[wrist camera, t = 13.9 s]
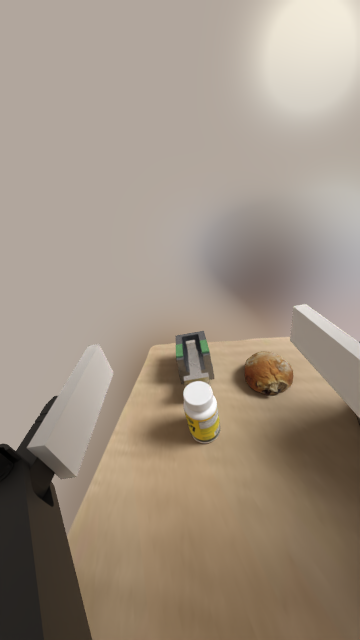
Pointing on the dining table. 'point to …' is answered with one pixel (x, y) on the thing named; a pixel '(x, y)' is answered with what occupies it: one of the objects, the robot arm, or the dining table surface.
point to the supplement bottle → (201, 412)
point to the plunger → (194, 366)
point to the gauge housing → (202, 354)
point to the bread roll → (268, 373)
